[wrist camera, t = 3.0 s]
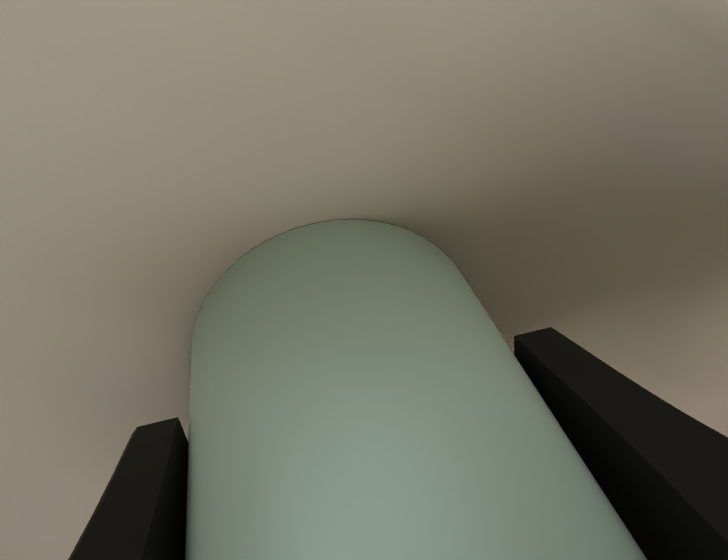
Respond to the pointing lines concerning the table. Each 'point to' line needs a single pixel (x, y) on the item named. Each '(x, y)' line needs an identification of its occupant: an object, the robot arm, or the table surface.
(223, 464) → the roll
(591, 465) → the robot arm
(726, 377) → the table surface
